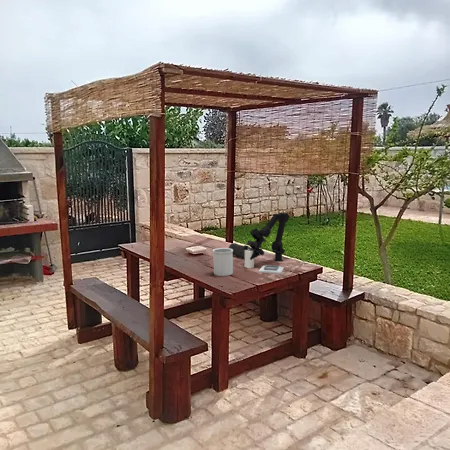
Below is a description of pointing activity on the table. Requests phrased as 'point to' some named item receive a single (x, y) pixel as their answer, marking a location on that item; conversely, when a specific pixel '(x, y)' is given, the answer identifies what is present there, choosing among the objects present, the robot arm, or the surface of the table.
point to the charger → (249, 262)
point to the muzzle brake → (237, 250)
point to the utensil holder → (223, 261)
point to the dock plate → (271, 269)
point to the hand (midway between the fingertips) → (247, 259)
